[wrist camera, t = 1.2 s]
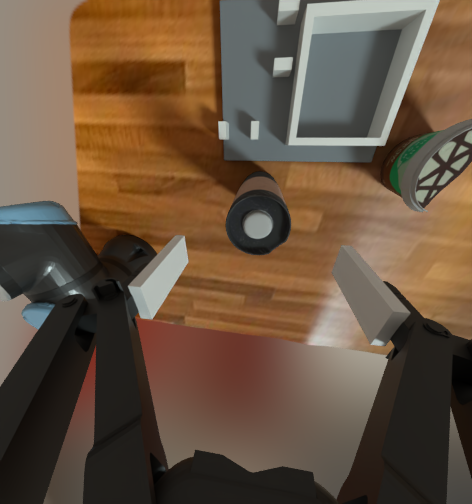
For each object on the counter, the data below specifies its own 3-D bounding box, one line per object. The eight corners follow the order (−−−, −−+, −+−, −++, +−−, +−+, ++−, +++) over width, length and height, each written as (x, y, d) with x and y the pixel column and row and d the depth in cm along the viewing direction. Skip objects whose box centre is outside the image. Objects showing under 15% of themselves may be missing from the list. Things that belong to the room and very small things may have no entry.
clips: (222, 139, 32) (219, 139, 29) (218, 15, 24) (213, 0, 22) (281, 139, 31) (283, 139, 28) (296, 10, 23) (300, -7, 21)
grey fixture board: (225, 159, 35) (224, 160, 34) (222, 8, 25) (219, 0, 24) (366, 161, 32) (371, 162, 31) (424, -7, 22) (435, -17, 21)
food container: (413, 110, 28) (478, 95, 20) (445, 126, 29) (522, 118, 20) (357, 185, 35) (389, 199, 26) (384, 198, 35) (424, 215, 27)
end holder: (285, 145, 31) (288, 145, 28) (300, 23, 24) (307, 3, 20) (370, 145, 30) (384, 145, 26) (414, 16, 22) (441, -6, 19)
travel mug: (241, 169, 35) (223, 192, 19) (280, 170, 35) (298, 194, 18) (240, 206, 39) (225, 254, 22) (275, 208, 39) (286, 258, 22)
